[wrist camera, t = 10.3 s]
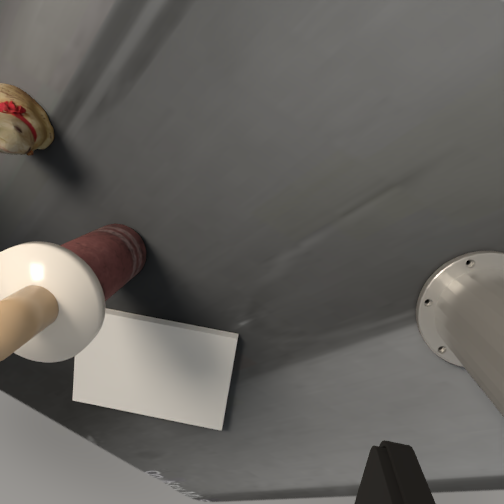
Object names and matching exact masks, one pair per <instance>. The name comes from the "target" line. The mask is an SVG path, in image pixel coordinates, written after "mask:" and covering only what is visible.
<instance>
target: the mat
mask: <svg viewBox="0 0 504 504" xmlns="http://www.w3.org/2000/svg"><path fill="white" fill-rule="evenodd" d="M238 335H239V334H237V333H231V332H226V331H221V330H216V329H211V328H206V327H200V326H195V325H190V324H185V323H180V322H174V321H169V320H164V319H159V318H154V317H149V316H143V315H138V314H133V313H128V312H123V311H117V310H112V309H107V308H105V318H104V321H103V325H102V327H101V329H100V331H99V333H98V334H97V336H96V337H95V338H94V339H93V340H92V342H91V343H90V344H89V345H88V346H87V347H86V348H85V349H83V350H82V351H81V352H80V353H78V354H77V355H75V364H74V383H73V401H78V402H83V403H88V404H93V405H98V406H103V407H108V408H113V409H118V410H122V411H127V412H132V413H137V414H142V415H147V416H152V417H157V418H162V419H167V420H172V421H176V422H181V423H186V424H191V425H196V426H201V427H206V428H211V429H216V430H221V431H222V426H223V422H224V416H225V410H226V404H227V398H228V393H229V387H230V381H231V375H232V370H233V364H234V358H235V352H236V346H237V341H238Z"/></svg>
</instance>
